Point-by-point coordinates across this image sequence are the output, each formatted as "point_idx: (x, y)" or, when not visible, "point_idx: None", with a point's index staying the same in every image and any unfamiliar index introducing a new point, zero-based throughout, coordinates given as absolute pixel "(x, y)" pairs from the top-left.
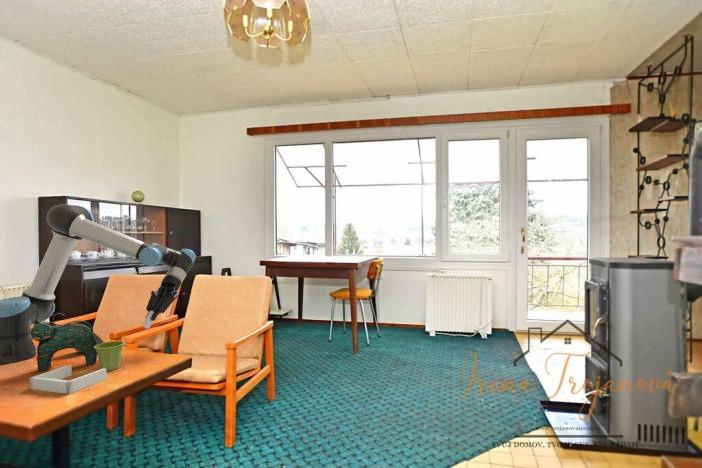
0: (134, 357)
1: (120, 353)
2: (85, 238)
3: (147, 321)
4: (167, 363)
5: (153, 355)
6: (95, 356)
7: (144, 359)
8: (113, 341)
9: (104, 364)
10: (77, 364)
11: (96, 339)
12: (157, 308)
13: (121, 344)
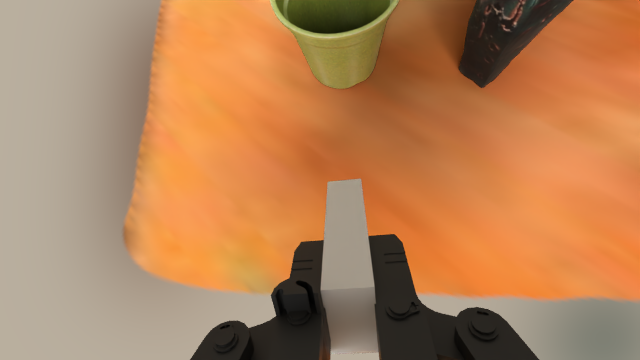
0: (382, 196)
1: (296, 38)
2: None
3: (327, 205)
4: (171, 176)
5: None
6: (464, 50)
7: (308, 187)
8: (373, 21)
9: (328, 15)
10: (533, 47)
11: (514, 5)
12: (274, 340)
13: (273, 2)
